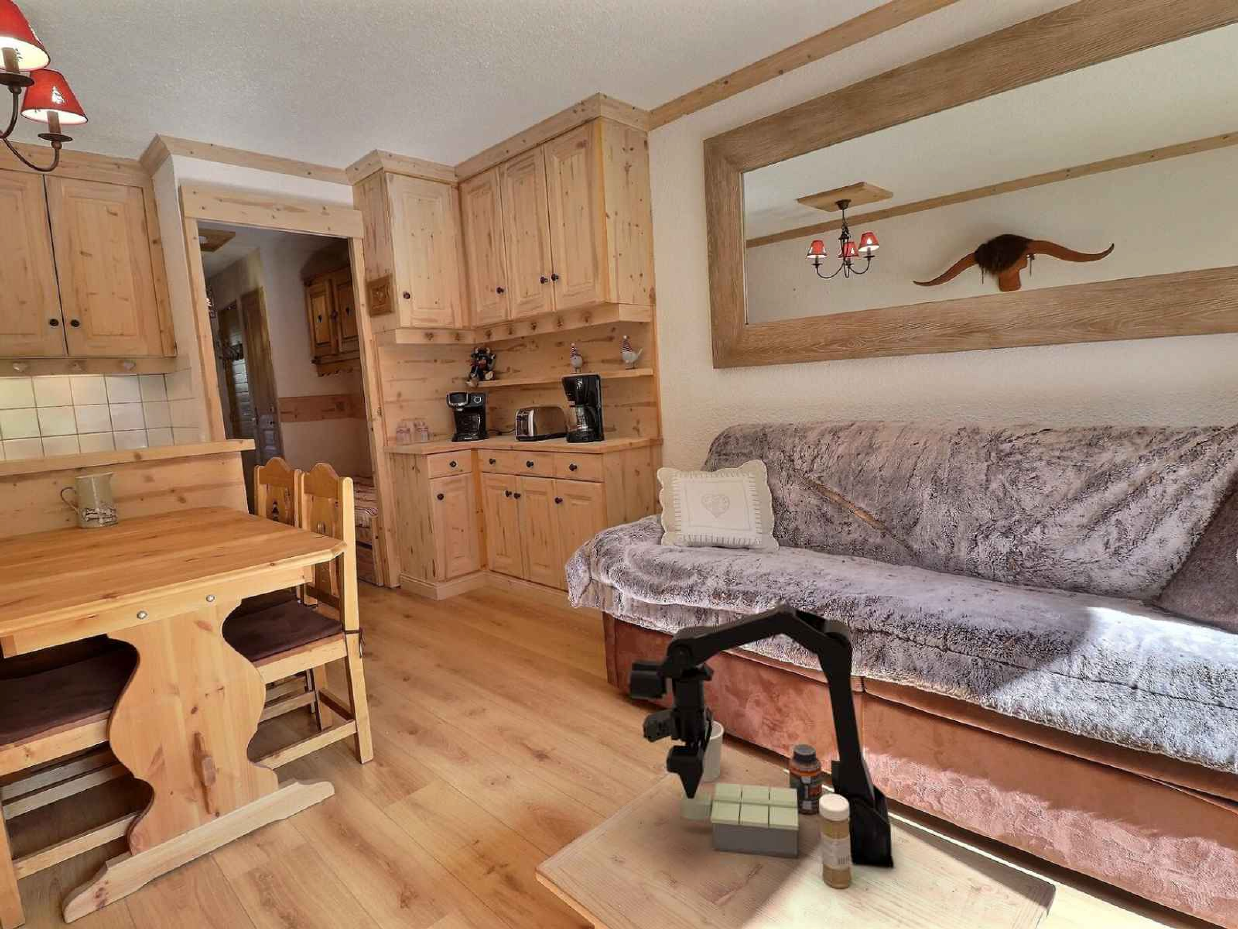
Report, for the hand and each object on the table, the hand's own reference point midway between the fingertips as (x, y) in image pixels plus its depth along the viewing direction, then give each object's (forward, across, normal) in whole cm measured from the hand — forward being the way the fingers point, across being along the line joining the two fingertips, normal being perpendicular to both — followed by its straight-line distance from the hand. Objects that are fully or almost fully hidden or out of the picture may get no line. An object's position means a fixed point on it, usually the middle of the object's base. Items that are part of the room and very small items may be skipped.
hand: (694, 783), depth 120 cm
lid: (+6, 0, +8) cm, 10 cm away
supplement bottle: (+9, -10, +20) cm, 24 cm away
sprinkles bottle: (+9, +9, +24) cm, 27 cm away
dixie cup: (+9, -18, 0) cm, 20 cm away
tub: (+9, 0, +11) cm, 14 cm away
